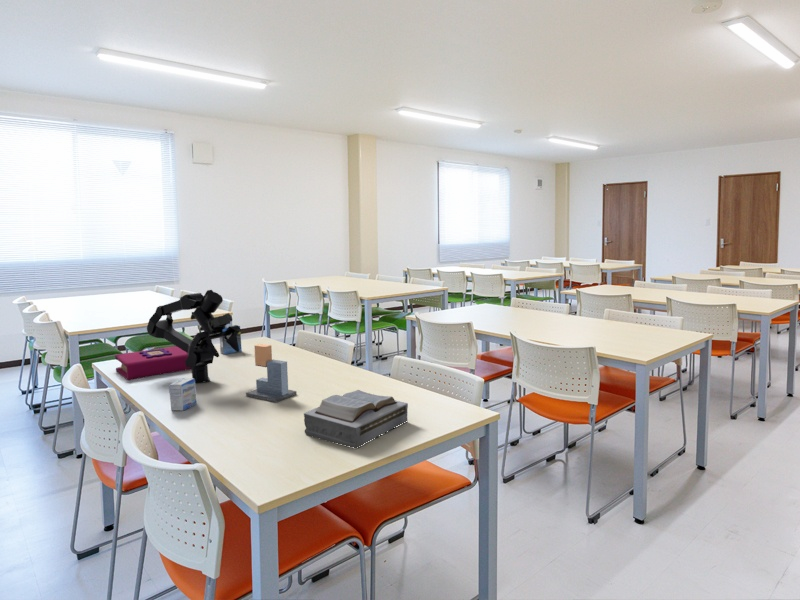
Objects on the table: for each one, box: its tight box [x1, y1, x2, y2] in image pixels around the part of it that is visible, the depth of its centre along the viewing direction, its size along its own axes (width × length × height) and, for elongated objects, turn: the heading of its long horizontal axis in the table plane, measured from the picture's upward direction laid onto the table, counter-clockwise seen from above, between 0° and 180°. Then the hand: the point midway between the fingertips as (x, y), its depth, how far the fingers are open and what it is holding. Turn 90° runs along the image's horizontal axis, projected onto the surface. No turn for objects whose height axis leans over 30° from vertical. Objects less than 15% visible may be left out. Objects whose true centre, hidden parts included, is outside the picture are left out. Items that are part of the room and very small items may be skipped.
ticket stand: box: [245, 358, 298, 403], centre depth 187 cm, size 14×10×12 cm
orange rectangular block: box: [254, 343, 273, 368], centre depth 188 cm, size 5×3×7 cm, turn 59°
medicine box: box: [168, 377, 198, 412], centre depth 176 cm, size 8×4×9 cm, turn 168°
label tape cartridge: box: [219, 325, 243, 355], centre depth 254 cm, size 9×4×12 cm, turn 130°
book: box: [114, 345, 192, 381], centre depth 225 cm, size 21×28×8 cm
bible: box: [303, 389, 409, 448], centre depth 156 cm, size 23×27×10 cm
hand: (228, 354), depth 197 cm, fingers open, 9 cm apart
